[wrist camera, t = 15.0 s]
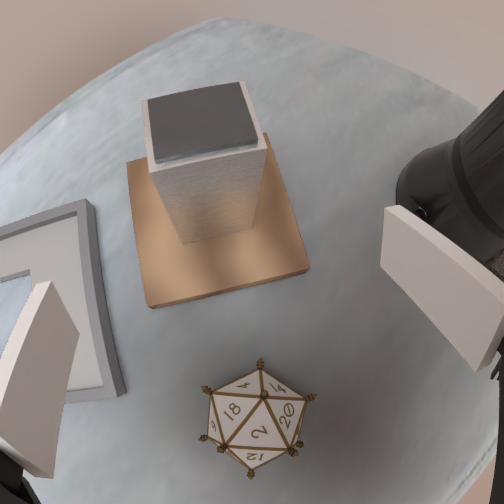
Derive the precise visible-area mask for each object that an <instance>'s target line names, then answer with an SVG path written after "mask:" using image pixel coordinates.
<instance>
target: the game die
mask: <svg viewBox="0 0 504 504" xmlns="http://www.w3.org/2000/svg"><path fill="white" fill-rule="evenodd" d="M263 363H264V362H263V361H262V359H261V358H260V359H259V361H258V362H257V367H258V369H257V370H255V371H253V372H251V373H249V374H247V375H245V376H243V377H241V378H239V379H237V380H235V381H232V382H230V383H228V384H226V385H224V386H222V387H220V388H218V389H216V390H214V391H212V390H211V388H208V386H201V388H202V390H203V392H205V393H206V394H209V395H210V402H209V416H208V431H207V435H203V436H202V435H201V437H200V438H199V439H198V440H200V441H202V442H203V441H206V440H207V439H210V440H211V441H212V442H213V443H215V444H216V445H217V446H218V447H217V452H221V453H224V451H225V452H226V453H228V454H229V455H230V456H232V457H233V458H234V459H236V460H237V461H238V462H240V463H241V464H242V465H244V466H245V467H247V468H248V469H249V472H248V475H247V476H248V477H249V478H250V480H251V479H252V478H253V477H254V476H255V475H254V469H256V468H258V467H260V466H262V465H264V464H266V463H268V462H270V461H272V460H274V459H276V458H277V457H279V456H281V455H283V454H285V453H287V452H289V454H290V455H291V456H298V451H297V450H295V449H294V448H293V447H294V445H295V444H296V446H298V447H300V448H301V447H304V445H303V442H301V441H298V438H299V434H300V429H301V425H302V421H303V417H304V412H305V408H306V403H307V401H311V400H314V399H315V397H316V396H317V394H311V395H308V396H307V397H306V398H305V397H303V396H302V395H300V394H298V393H297V392H295V391H294V390H292V389H291V388H289V387H288V386H286V385H285V384H283V383H282V382H280V381H279V380H277V379H276V378H274V377H273V376H271V375H270V374H268V373H267V372H265V371H264V370H262V367H263V366H264V365H263Z"/></svg>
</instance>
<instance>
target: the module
mask: <svg viewBox="0 0 504 504" xmlns="http://www.w3.org/2000/svg"><path fill="white" fill-rule="evenodd" d="M141 102H142V113H143V124H144V133H145V142H146V151H147V159H148V167H149V174H150V176H151V178H152V180H153V183H154V185H155V187H156V189H157V191H158V194H159V196H160V198H161V200H162V202H163V204H164V207H165V209H166V211H167V213H168V215H169V217H170V219H171V222H172V224H173V226H174V228H175V230H176V232H177V234H178V236H179V238H180V240H181V243H182V245H185V244H189V243H194V242H198V241H202V240H207V239H211V238H215V237H220V236H224V235H228V234H233V233H237V232H242V231H246V230H250V229H252V224H253V219H254V214H255V209H256V204H257V199H258V194H259V189H260V184H261V179H262V174H263V169H264V164H265V159H266V154H267V149H268V148H267V145H266V142H265V139H264V136H263V133H262V130H261V128H260V125H259V122H258V119H257V116H256V113H255V110H254V108H253V105H252V102H251V99H250V96H249V94H248V91H247V88H246V85H245V83H244V81H241V82H234V83H227V84H221V85H215V86H209V87H203V88H198V89H193V90H188V91H183V92H178V93H173V94H169V95H165V96H160V97H156V98H152V99H148V100H144V101H141Z"/></svg>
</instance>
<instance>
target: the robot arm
mask: <svg viewBox="0 0 504 504" xmlns="http://www.w3.org/2000/svg"><path fill="white" fill-rule="evenodd" d="M396 202H397V205H396V206H390V207H385V208H384V224H383V237H382V249H381V260H380V266H381V267H382V269H383V270H384V271H385V272H386V273H387V274H388V275H389V276H390V277H391V278H392V279H393V280H394V281H395V282H396V283H397V284H398V285H399V286H400V287H401V288H402V289H403V291H404V292H405V293H406V294H407V295H408V296H409V297H410V298H411V299H412V300H413V301H414V302H415V303H416V305H417V306H418V307H419V308H420V309H421V310H422V311H423V312H424V313H425V314H426V316H427V317H428V318H429V319H430V320H431V321H432V322H433V323H434V325H435V326H436V327H437V328H438V329H439V330H440V331H441V333H442V334H443V335H444V336H445V337H446V338H447V339H448V341H449V342H450V343H451V344H452V345H453V346H454V348H455V349H456V350H457V351H458V352H459V354H460V355H461V356H462V357H463V358H464V360H465V361H466V362H467V363H468V364H469V366H470V367H471V368H472V369H473V371H474V372H475V373H476V372H478V371H479V370H481V369H482V368H484V367H485V366H487V365H489V364H490V363H491V361H492V359H493V357H494V355H495V353H496V352H497V351H498V352H499V353H500V354H501V355H502V356H501V358H500V360H499V361H498V363H497V365H496V367H495V369H494V370H493V372H492V374H491V378H490V379H494V377H495V375H496V374H497V372H498V371H499V376H498V378H497V380H499V429H498V444H497V454H496V464H495V471H494V479H493V485H492V491H491V496H490V502H489V504H504V277H503V276H500V275H499V273H498V272H497V271H495V270H494V269H493V270H492V267H490V266H491V265H492V264H493V263H494V262H495V260H496V259H498V257H499V256H500V255H501V254H502V253H503V252H504V90H503V91H502V92H501V93H500V94H499V96H498V97H497V98H496V99H495V100H494V101H493V102H492V103H491V104H490V105H489V106H488V107H487V108H486V109H485V110H484V111H483V112H482V113H481V114H480V115H479V116H478V117H477V118H476V119H475V120H474V121H473V122H472V123H471V124H470V125H469V126H468V127H467V128H466V129H465V130H464V131H463V132H462V133H461V134H460V135H459V136H458V137H457V138H456V139H453V140H451V141H448V142H445V143H442V144H440V145H437V146H434V147H432V148H429V149H426V150H424V151H422V152H420V153H419V154H418V155H416V156H415V157H414V158H413V159H412V160H411V161H410V162H409V163H408V165H407V166H406V167H405V168H404V169H403V171H402V173H401V175H400V177H399V180H398V184H397V191H396ZM79 336H80V333H79V331H78V330H77V328H76V326H75V324H74V323H73V321H72V319H71V317H70V315H69V313H68V312H67V310H66V308H65V306H64V304H63V302H62V300H61V298H60V296H59V294H58V292H57V290H56V288H55V286H54V284H53V282H52V280H51V281H46V282H42V283H38V284H36V286H35V287H34V289H33V291H32V293H31V295H30V297H29V299H28V301H27V303H26V305H25V307H24V309H23V311H22V313H21V315H20V317H19V319H18V321H17V323H16V325H15V327H14V329H13V331H12V333H11V336H10V338H9V340H8V342H7V345H6V347H5V349H4V352H3V354H2V356H1V359H0V504H41V502H40V501H39V499H38V498H37V496H36V494H35V492H34V491H33V489H32V487H31V485H30V484H29V482H28V481H27V480H26V478H24V477H23V476H22V474H23V469H25V470H26V471H27V472H29V473H30V474H31V475H33V476H34V477H40V478H52V479H53V478H54V468H55V459H56V451H57V443H58V436H59V430H60V423H61V417H62V412H63V406H64V401H65V396H66V391H67V386H68V381H69V377H70V372H71V368H72V363H73V359H74V355H75V351H76V347H77V343H78V339H79Z"/></svg>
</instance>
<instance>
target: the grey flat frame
mask: <svg viewBox="0 0 504 504" xmlns="http://www.w3.org/2000/svg"><path fill="white" fill-rule="evenodd" d="M29 274H30V278H31V290H32V291H33V289H34V287H35V286H36V284H38V283H42V282H46V281H51V280H52V282H53V284H54V286H55V288H56V290H57V292H58V294H59V296H60V298H61V300H62V302H63V304H64V306H65V308H66V310H67V312H68V313H69V315H70V317H71V319H72V321H73V323H74V324H75V326H76V328H77V330H78V331H79V333H80V336H79V339H78V343H77V347H76V351H75V355H74V359H73V363H72V368H71V372H70V377H69V381H68V386H67V391H66V396H65V401H64V403H74V402H84V401H93V400H101V399H109V398H117V397H119V396H121V395H123V394H125V393H126V390H125V386H124V383H123V379H122V375H121V371H120V367H119V362H118V358H117V354H116V349H115V345H114V340H113V335H112V331H111V326H110V320H109V315H108V310H107V304H106V298H105V292H104V285H103V279H102V272H101V264H100V256H99V248H98V238H97V228H96V217H95V208H94V207H93V206H92V205H91V204H90V203H89V201H88V200H87V199H86V198H85V199H81V200H78V201H75V202H72V203H69V204H65V205H62V206H59V207H56V208H53V209H50V210H47V211H44V212H41V213H38V214H36V215H33V216H30V217H27V218H24V219H21V220H19V221H16V222H13V223H11V224H8V225H5V226H3V227H0V283H1V282H4V281H7V280H11V279H14V278H18V277H21V276H25V275H29ZM0 359H1V357H0Z"/></svg>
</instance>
